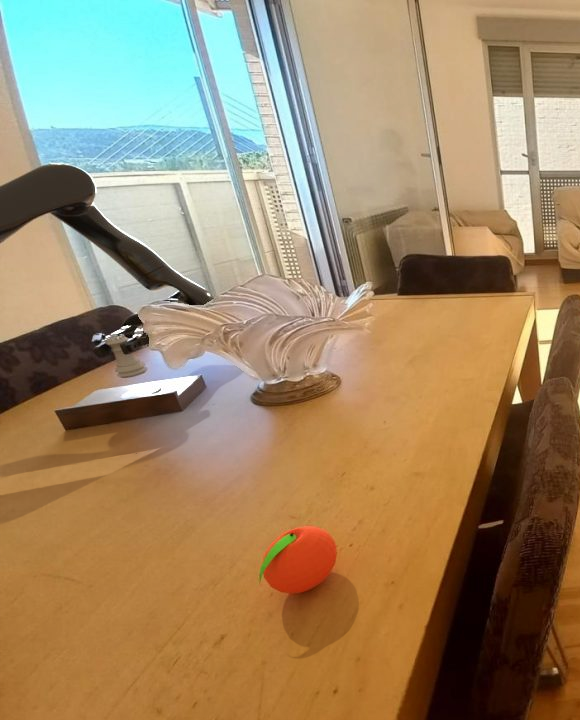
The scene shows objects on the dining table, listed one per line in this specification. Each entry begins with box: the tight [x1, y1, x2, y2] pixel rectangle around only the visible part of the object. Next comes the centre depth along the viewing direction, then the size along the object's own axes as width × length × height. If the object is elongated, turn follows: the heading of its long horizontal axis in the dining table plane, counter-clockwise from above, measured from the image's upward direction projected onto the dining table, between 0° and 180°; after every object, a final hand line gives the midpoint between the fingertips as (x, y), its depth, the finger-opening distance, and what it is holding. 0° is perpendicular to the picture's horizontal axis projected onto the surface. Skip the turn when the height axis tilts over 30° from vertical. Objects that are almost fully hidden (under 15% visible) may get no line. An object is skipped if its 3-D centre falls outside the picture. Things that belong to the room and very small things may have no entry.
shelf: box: [54, 374, 208, 431], centre depth 96 cm, size 18×12×4 cm, turn 111°
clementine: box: [258, 525, 338, 595], centre depth 52 cm, size 8×7×7 cm
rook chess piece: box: [106, 334, 148, 379], centre depth 93 cm, size 4×4×8 cm
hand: (111, 351), depth 90 cm, fingers closed on rook chess piece, 3 cm apart
